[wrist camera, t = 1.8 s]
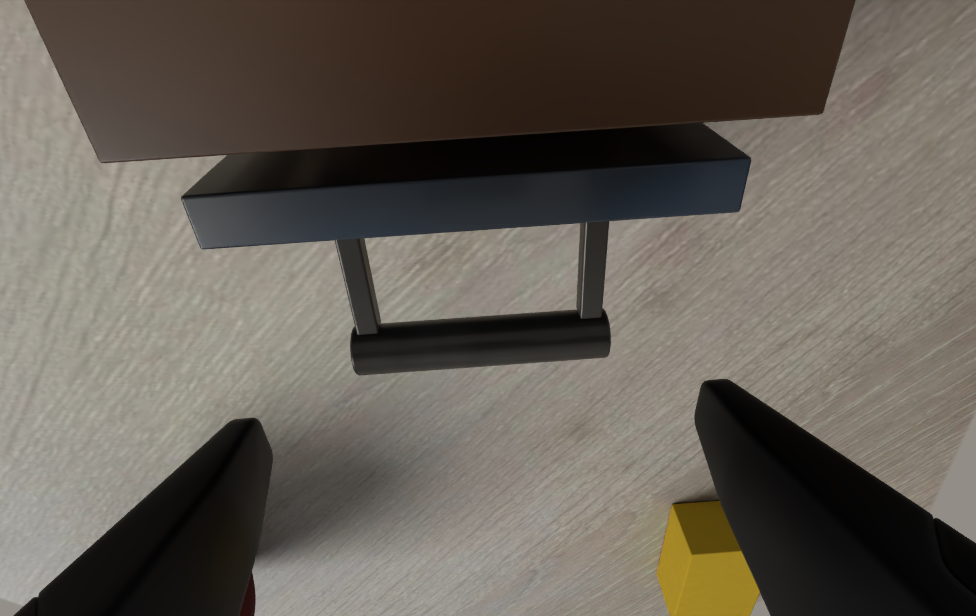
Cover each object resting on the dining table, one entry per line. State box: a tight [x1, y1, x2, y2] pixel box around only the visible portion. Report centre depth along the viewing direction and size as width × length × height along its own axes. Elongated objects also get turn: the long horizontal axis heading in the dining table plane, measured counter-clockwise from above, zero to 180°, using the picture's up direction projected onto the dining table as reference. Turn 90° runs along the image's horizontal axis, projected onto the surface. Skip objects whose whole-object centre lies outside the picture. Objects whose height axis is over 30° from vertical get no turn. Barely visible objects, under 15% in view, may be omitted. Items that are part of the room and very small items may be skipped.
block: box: [657, 501, 760, 616], centre depth 30 cm, size 7×4×3 cm, turn 3°
